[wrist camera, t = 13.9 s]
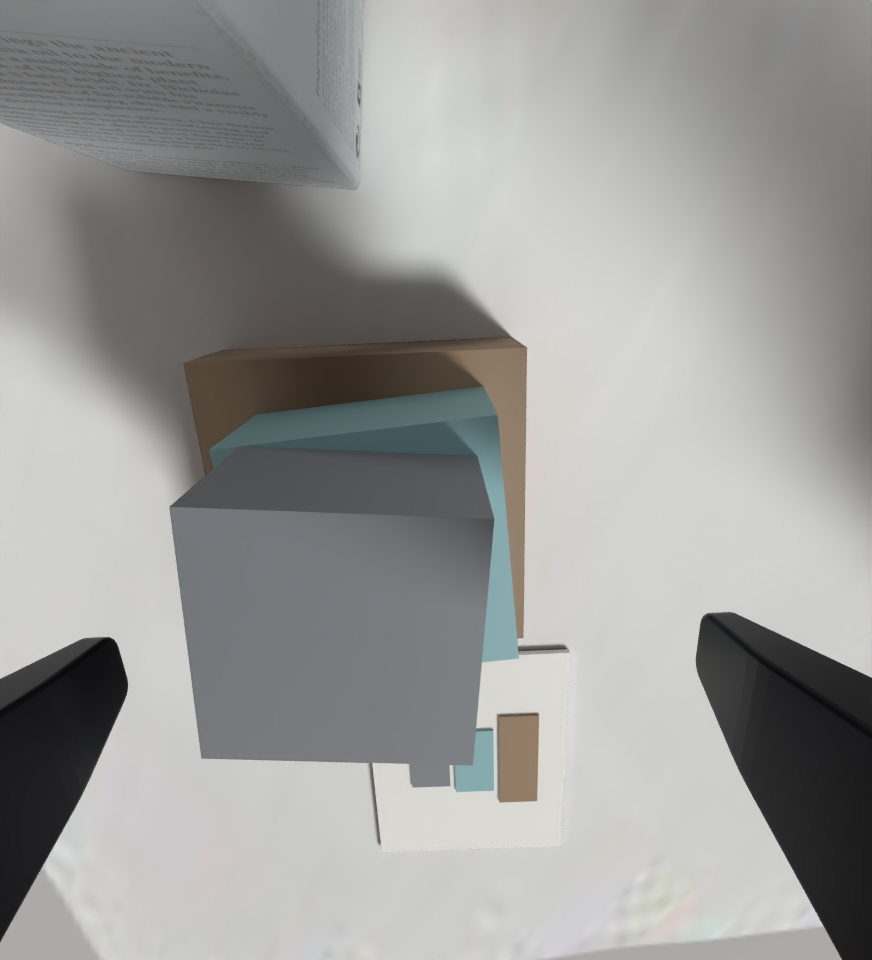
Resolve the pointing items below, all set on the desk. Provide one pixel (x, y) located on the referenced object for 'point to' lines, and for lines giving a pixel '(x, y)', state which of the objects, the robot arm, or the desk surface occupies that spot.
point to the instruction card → (489, 769)
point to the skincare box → (191, 85)
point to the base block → (372, 397)
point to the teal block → (409, 429)
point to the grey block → (336, 604)
